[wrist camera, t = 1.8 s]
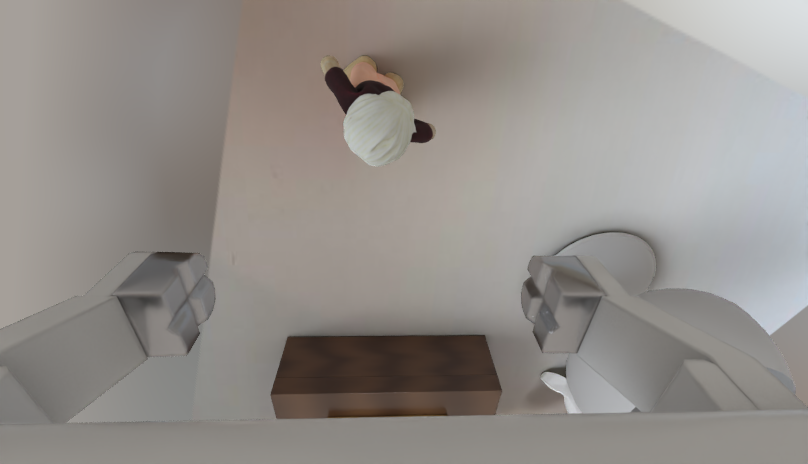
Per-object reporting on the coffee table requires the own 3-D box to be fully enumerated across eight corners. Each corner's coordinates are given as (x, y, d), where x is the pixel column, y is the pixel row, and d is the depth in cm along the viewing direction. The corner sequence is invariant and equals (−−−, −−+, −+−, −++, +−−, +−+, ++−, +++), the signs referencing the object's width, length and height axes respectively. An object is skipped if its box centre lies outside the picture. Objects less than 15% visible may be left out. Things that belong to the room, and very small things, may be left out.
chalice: (691, 263, 36) (856, 399, 24) (585, 344, 42) (672, 488, 29) (602, 195, 32) (748, 318, 19) (497, 296, 38) (555, 442, 25)
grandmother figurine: (321, 93, 26) (278, 151, 16) (336, 38, 24) (299, 60, 14) (417, 131, 28) (438, 206, 17) (438, 82, 26) (476, 132, 16)
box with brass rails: (303, 420, 48) (290, 486, 41) (287, 336, 39) (267, 402, 33) (466, 417, 49) (479, 480, 42) (485, 335, 41) (504, 398, 34)
